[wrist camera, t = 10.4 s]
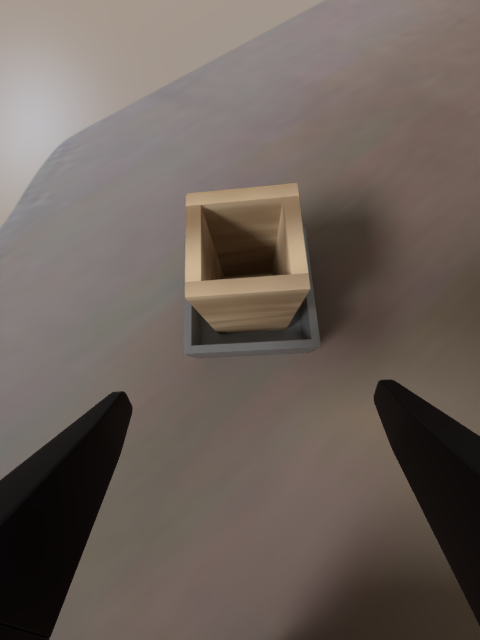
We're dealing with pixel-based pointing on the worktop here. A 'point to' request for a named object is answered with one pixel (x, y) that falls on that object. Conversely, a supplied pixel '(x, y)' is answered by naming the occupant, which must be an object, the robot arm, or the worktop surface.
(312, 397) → the worktop surface
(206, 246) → the tall pine crate
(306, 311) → the grey square tray
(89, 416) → the robot arm
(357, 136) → the worktop surface
